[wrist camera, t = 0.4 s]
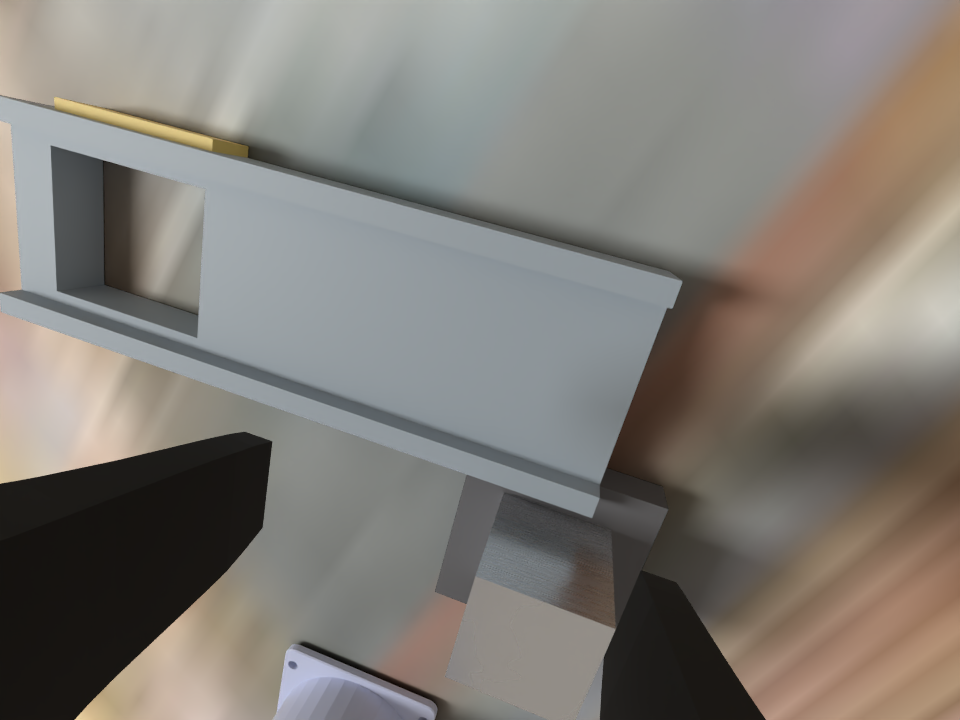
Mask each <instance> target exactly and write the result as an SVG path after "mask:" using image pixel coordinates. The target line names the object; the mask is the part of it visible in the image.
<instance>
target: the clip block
mask: <svg viewBox="0 0 960 720" xmlns="http://www.w3.org/2000/svg"><path fill="white" fill-rule="evenodd" d="M615 629H616V627H615V605H614V583H613V561H612V539H611V529H608V528H605V527H602V526H599V525H597V524H594V523H591V522H588V521H585V520H582V519H579V518H577V517H574V516H571V515H568V514H565V513H562V512H559V511H557V510H554V509H551V508H548V507H545V506H542V505H539V504H537V503H534V502H531V501H528V500H525V499H522V498H519V497H517V496H514V495H511V494H508V493H505V492H504V494H503V497H502V500H501V502H500V505H499V508H498V511H497V514H496V517H495V520H494V523H493V526H492V529H491V532H490V535H489V538H488V541H487V544H486V546H485V549H484V552H483V555H482V558H481V561H480V564H479V567H478V570H477V573H476V576H475V579H474V582H473V586H472V589H471V592H470V596H469V599H468V602H467V605H466V609H465V612H464V615H463V619H462V622H461V625H460V629H459V632H458V635H457V638H456V642H455V645H454V648H453V652H452V655H451V658H450V661H449V665H448V668H447V671H446V675H445V677H447V678H449V679H451V680H454V681H456V682H459V683H461V684H463V685H466V686H468V687H471V688H473V689H476V690H478V691H480V692H483V693H485V694H488V695H490V696H492V697H495V698H497V699H500V700H502V701H505V702H507V703H509V704H512V705H514V706H517V707H519V708H521V709H524V710H526V711H529V712H531V713H533V714H536V715H538V716H541V717H543V718H546V719H548V720H576V717H577V715H578V713H579V711H580V708H581V706H582V704H583V702H584V699H585V697H586V695H587V693H588V690H589V688H590V686H591V684H592V681H593V679H594V677H595V675H596V672H597V670H598V668H599V666H600V663H601V661H602V659H603V657H604V654H605V652H606V650H607V648H608V645H609V643H610V641H611V638H612V636H613V634H614V632H615Z"/></svg>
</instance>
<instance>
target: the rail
mask: <svg viewBox="0 0 960 720" xmlns="http://www.w3.org/2000/svg"><path fill="white" fill-rule="evenodd" d="M54 102H55V106H50V105H45V104H40V103H35V102H31V101H26V100H21V99H16V98H11V97H7V96H2V95H0V121H2V122H6V123H10V124H11V134H12V149H13V164H14V179H15V194H16V209H17V224H18V239H19V254H20V269H21V284H22V290H17V291H8V292H0V307H1V312H2V313H5V314H8V315H11V316H14V317H17V318H20V319H22V320H25V321H28V322H31V323H34V324H37V325H40V326H43V327H45V328H48V329H51V330H54V331H57V332H60V333H63V334H65V335H68V336H71V337H74V338H77V339H80V340H83V341H86V342H88V343H91V344H94V345H97V346H100V347H103V348H106V349H108V350H111V351H114V352H117V353H120V354H123V355H126V356H129V357H131V358H134V359H137V360H140V361H143V362H146V363H149V364H151V365H154V366H157V367H160V368H163V369H166V370H169V371H172V372H174V373H177V374H180V375H183V376H186V377H189V378H192V379H194V380H197V381H200V382H203V383H206V384H209V385H212V386H215V387H217V388H220V389H223V390H226V391H229V392H232V393H235V394H237V395H240V396H243V397H246V398H249V399H252V400H255V401H258V402H260V403H263V404H266V405H269V406H272V407H275V408H278V409H280V410H283V411H286V412H289V413H292V414H295V415H298V416H301V417H303V418H306V419H309V420H312V421H315V422H318V423H321V424H324V425H326V426H329V427H332V428H335V429H338V430H341V431H344V432H346V433H349V434H352V435H355V436H358V437H361V438H364V439H367V440H369V441H372V442H375V443H378V444H381V445H384V446H387V447H389V448H392V449H395V450H398V451H401V452H404V453H407V454H410V455H412V456H415V457H418V458H421V459H424V460H427V461H430V462H432V463H435V464H438V465H441V466H444V467H447V468H450V469H453V470H455V471H458V472H461V473H464V474H467V475H470V476H473V477H475V478H478V479H481V480H484V481H487V482H490V483H493V484H496V485H498V486H501V487H504V488H507V489H510V490H513V491H516V492H518V493H521V494H524V495H527V496H530V497H533V498H536V499H539V500H541V501H544V502H547V503H550V504H553V505H556V506H559V507H561V508H564V509H567V510H570V511H573V512H576V513H579V514H582V515H584V516H587V517H590V518H592V517H593V514H594V512H595V509H596V506H597V504H598V501H599V499H600V483H601V480H602V478H603V475H604V472H605V470H606V467H607V465H608V462H609V459H610V457H611V454H612V451H613V449H614V446H615V443H616V441H617V438H618V436H619V433H620V430H621V428H622V425H623V422H624V420H625V417H626V415H627V412H628V409H629V407H630V404H631V401H632V399H633V396H634V393H635V391H636V388H637V386H638V383H639V380H640V378H641V375H642V372H643V370H644V367H645V365H646V362H647V359H648V357H649V354H650V351H651V349H652V346H653V343H654V341H655V338H656V336H657V333H658V330H659V328H660V325H661V322H662V320H663V317H664V315H665V312H666V309H667V308H671V309H672V308H673V306H674V303H675V301H676V298H677V295H678V293H679V290H680V288H681V285H682V282H683V281H682V280H680V279H679V278H678V277H676V276H675V275H673V274H672V273H671V272H669V271H666V270H663V269H659V268H655V267H652V266H648V265H644V264H640V263H637V262H633V261H629V260H626V259H622V258H618V257H614V256H611V255H607V254H603V253H600V252H596V251H592V250H588V249H585V248H581V247H577V246H574V245H570V244H566V243H562V242H559V241H555V240H551V239H548V238H544V237H540V236H536V235H533V234H529V233H525V232H522V231H518V230H514V229H510V228H507V227H503V226H499V225H495V224H492V223H488V222H484V221H481V220H477V219H473V218H469V217H466V216H462V215H458V214H455V213H451V212H447V211H443V210H440V209H436V208H432V207H429V206H425V205H421V204H417V203H414V202H410V201H406V200H403V199H399V198H395V197H391V196H388V195H384V194H380V193H377V192H373V191H369V190H365V189H362V188H358V187H354V186H351V185H347V184H343V183H339V182H336V181H332V180H328V179H325V178H321V177H317V176H313V175H310V174H306V173H302V172H299V171H295V170H291V169H287V168H284V167H280V166H276V165H273V164H269V163H265V162H261V161H258V160H254V159H250V158H248V148H249V146H245V145H241V144H237V143H234V142H230V141H226V140H222V139H218V138H215V137H211V136H207V135H203V134H200V133H196V132H192V131H188V130H185V129H181V128H177V127H173V126H169V125H166V124H162V123H158V122H154V121H151V120H147V119H143V118H139V117H136V116H132V115H128V114H124V113H120V112H117V111H113V110H109V109H105V108H101V107H97V106H93V105H88V104H84V103H79V102H75V101H71V100H66V99H62V98H57V97H54ZM103 160H105V161H108V162H112V163H115V164H119V165H122V166H126V167H129V168H133V169H136V170H140V171H144V172H147V173H151V174H154V175H158V176H161V177H165V178H168V179H172V180H175V181H179V182H182V183H186V184H189V185H193V186H196V187H200V188H204V189H206V190H205V208H204V226H203V245H202V263H201V281H200V299H199V316H198V315H195V314H192V313H189V312H186V311H183V310H180V309H177V308H174V307H171V306H168V305H165V304H162V303H159V302H156V301H152V300H149V299H146V298H143V297H140V296H137V295H134V294H131V293H128V292H125V291H122V290H119V289H116V288H113V287H110V286H107V285H104V212H103Z"/></svg>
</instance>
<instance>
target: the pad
mask: <svg viewBox="0 0 960 720" xmlns="http://www.w3.org/2000/svg"><path fill="white" fill-rule="evenodd" d="M504 492H505V493H508V494H511V495H514V496H517V497H519V498H522V499H525V500H528V501H531V502H534V503H537V504H539V505H542V506H545V507H548V508H551V509H554V510H557V511H559V512H562V513H565V514H568V515H571V516H574V517H577V518H579V519H582V520H585V521H588V522H591V523H594V524H597V525H599V526H602V527H605V528H608V529H611V539H612V561H613V583H614V605H615V627H617V624H618V622H619V620H620V618H621V615H622V613H623V611H624V609H625V606H626V604H627V602H628V599H629V597H630V595H631V592H632V590H633V588H634V585H635V583H636V580H637V578H638V576H639V573H640V571H641V570H642V568H643V566H644V564H645V561H646V559H647V557H648V554H649V552H650V550H651V548H652V545H653V543H654V541H655V539H656V536H657V534H658V532H659V530H660V527H661V525H662V523H663V521H664V518H665V516H666V514H667V512H668V505H667V501H666V497H665V493H664V489H663V487H662V486H659V485H656V484H653V483H650V482H647V481H644V480H641V479H638V478H635V477H632V476H629V475H626V474H623V473H620V472H617V471H614V470H611V469H608V468H606V470H605V472H604V475H603V478H602V480H601V483H600V499H599V501H598V504H597V506H596V509H595V512H594V514H593V517H592V518H590V517H587V516H584V515H582V514H579V513H576V512H573V511H570V510H567V509H564V508H561V507H559V506H556V505H553V504H550V503H547V502H544V501H541V500H539V499H536V498H533V497H530V496H527V495H524V494H521V493H518V492H516V491H513V490H510V489H507V488H504V487H501V486H498V485H496V484H493V483H490V482H487V481H484V480H481V479H478V478H475V477H473V476H470V475H466V479H465V483H464V486H463V490H462V494H461V497H460V501H459V505H458V508H457V512H456V516H455V519H454V523H453V527H452V530H451V534H450V538H449V541H448V545H447V549H446V552H445V556H444V560H443V563H442V567H441V571H440V575H439V578H438V582H437V586H436V589H435V592H437V593H440V594H442V595H445V596H447V597H450V598H452V599H455V600H458V601H460V602H463V603H465V604H467V602H468V599H469V596H470V592H471V589H472V586H473V582H474V579H475V576H476V573H477V570H478V567H479V564H480V561H481V558H482V555H483V552H484V549H485V546H486V544H487V541H488V538H489V535H490V532H491V529H492V526H493V523H494V520H495V517H496V514H497V511H498V508H499V505H500V502H501V500H502V497H503V494H504Z"/></svg>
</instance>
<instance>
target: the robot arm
mask: <svg viewBox="0 0 960 720" xmlns="http://www.w3.org/2000/svg"><path fill="white" fill-rule="evenodd" d="M271 448H272V441H270V440H267V439H264V438H261V437H258V436H255V435H252V434H250V433H247V432H241V433H234V434H229V435H223V436H219V437H214V438H210V439H205V440H201V441H197V442H192V443H188V444H184V445H180V446H176V447H172V448H167V449H163V450H159V451H155V452H151V453H146V454H142V455H138V456H134V457H130V458H125V459H121V460H117V461H112V462H108V463H103V464H98V465H93V466H88V467H84V468H79V469H74V470H69V471H65V472H60V473H55V474H50V475H46V476H41V477H36V478H30V479H25V480H19V481H14V482H8V483H2V484H0V720H75V719H76V717H77V716H78V715H79V714H80V713H81V712H82V711H83V710H84V709H85V707H86V706H87V705H88V704H89V703H90V702H91V701H92V700H93V699H94V698H95V697H96V696H97V695H98V694H99V693H100V692H101V691H102V690H103V689H104V688H105V687H106V686H107V685H108V684H109V683H110V682H111V681H112V680H113V679H114V678H115V677H116V676H117V675H118V674H119V673H120V672H121V671H122V670H123V669H124V668H125V667H126V666H128V665H129V664H130V663H131V662H132V661H133V660H134V659H135V658H136V657H137V656H138V655H139V654H140V653H141V652H142V651H143V650H145V649H146V648H147V647H148V646H149V645H150V644H151V643H152V642H153V641H154V640H155V639H156V638H157V637H158V636H159V635H160V634H161V633H163V632H164V631H165V630H166V629H167V628H168V627H169V626H170V625H171V624H172V623H173V622H174V621H175V620H176V619H177V618H178V617H179V616H181V615H182V614H183V613H184V612H185V611H186V610H187V609H188V608H189V607H190V606H191V605H192V604H193V603H194V602H195V601H196V600H197V599H198V598H199V597H201V596H202V595H203V594H204V593H205V592H206V591H207V590H208V589H209V588H210V587H211V586H212V585H213V584H214V583H215V582H216V581H217V580H218V579H219V578H220V577H221V576H222V575H223V574H224V573H225V572H226V571H227V570H228V569H229V568H230V567H231V565H232V564H233V563H234V562H235V561H236V560H237V558H238V557H239V556H240V555H241V554H242V553H243V551H244V550H245V549H246V548H247V546H248V545H249V544H250V543H251V541H252V540H253V539H254V538H255V536H256V535H257V534H258V533H259V531H260V530H261V529H262V528H263V519H264V510H265V501H266V492H267V483H268V475H269V466H270V457H271ZM436 714H437V706H436V704H435V703H434V702H433V701H431V700H429V699H427V698H424V697H422V696H419V695H417V694H415V693H412V692H410V691H408V690H405V689H403V688H401V687H398V686H396V685H393V684H391V683H389V682H386V681H384V680H382V679H379V678H377V677H375V676H372V675H370V674H367V673H365V672H363V671H360V670H358V669H356V668H353V667H351V666H349V665H346V664H344V663H342V662H339V661H337V660H334V659H332V658H330V657H327V656H325V655H323V654H320V653H318V652H316V651H313V650H311V649H308V648H306V647H304V646H301V645H298V644H293V645H291V646H290V647H289V649H288V650H287V652H286V655H285V662H284V668H283V675H282V681H281V688H280V694H279V701H278V708H277V713H276V715H275V716H274V718H273V720H435V718H436ZM600 720H766V719H765V718H764V716H763V715H762V714H761V712H760V711H759V709H758V708H757V706H756V705H755V703H754V702H753V700H752V699H751V697H750V696H749V694H748V693H747V691H746V690H745V688H744V687H743V685H742V684H741V682H740V681H739V679H738V678H737V676H736V675H735V673H734V672H733V670H732V668H731V667H730V665H729V664H728V662H727V661H726V659H725V658H724V656H723V655H722V653H721V651H720V650H719V648H718V647H717V645H716V644H715V642H714V640H713V639H712V637H711V636H710V634H709V633H708V631H707V629H706V628H705V626H704V625H703V623H702V621H701V620H700V618H699V617H698V615H697V614H696V612H695V610H694V609H693V607H692V606H691V604H690V602H689V601H688V599H687V598H686V596H685V595H684V593H683V592H682V590H681V589H680V587H679V586H678V584H677V583H676V582H673V581H670V580H667V579H664V578H662V577H659V576H656V575H653V574H650V573H647V572H644V571H642V570H641V571H640V573H639V576H638V578H637V580H636V583H635V585H634V588H633V590H632V592H631V595H630V597H629V599H628V602H627V604H626V606H625V609H624V611H623V614H622V616H621V618H620V621H619V623H618V625H617V628H616V630H615V632H614V635H613V637H612V639H611V642H610V644H609V647H608V649H607V651H606V654H605V656H604V664H603V678H602V691H601V710H600Z"/></svg>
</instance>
